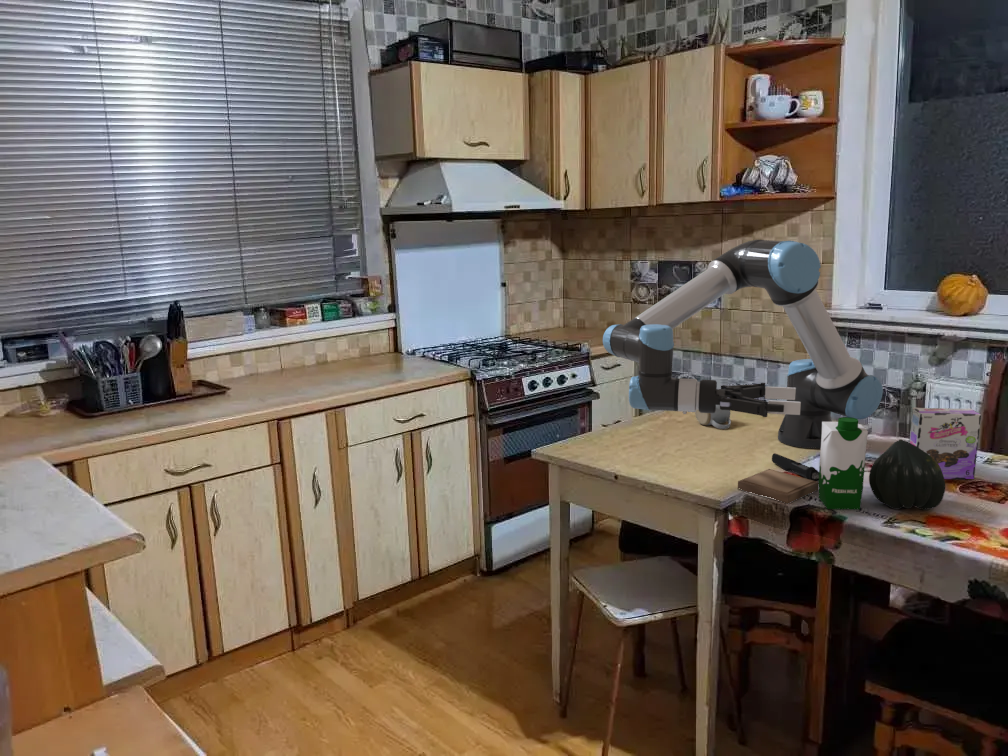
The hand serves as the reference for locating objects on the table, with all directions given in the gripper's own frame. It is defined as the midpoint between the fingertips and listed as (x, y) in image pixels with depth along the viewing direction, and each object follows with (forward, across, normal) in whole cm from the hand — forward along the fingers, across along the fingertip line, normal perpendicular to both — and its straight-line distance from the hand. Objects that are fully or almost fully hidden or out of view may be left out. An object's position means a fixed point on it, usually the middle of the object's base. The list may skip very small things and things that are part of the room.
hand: (797, 400), depth 182 cm
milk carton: (+10, 0, -23) cm, 25 cm away
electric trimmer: (+2, -21, -24) cm, 31 cm away
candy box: (+36, -25, -23) cm, 49 cm away
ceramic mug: (-17, -61, -23) cm, 68 cm away
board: (-2, -7, -23) cm, 24 cm away
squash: (+24, -3, -23) cm, 33 cm away
